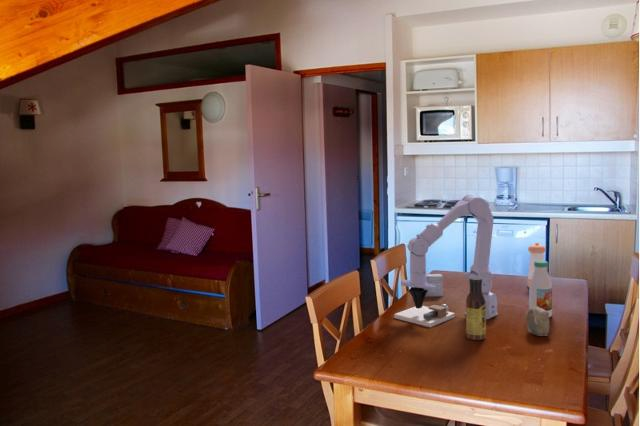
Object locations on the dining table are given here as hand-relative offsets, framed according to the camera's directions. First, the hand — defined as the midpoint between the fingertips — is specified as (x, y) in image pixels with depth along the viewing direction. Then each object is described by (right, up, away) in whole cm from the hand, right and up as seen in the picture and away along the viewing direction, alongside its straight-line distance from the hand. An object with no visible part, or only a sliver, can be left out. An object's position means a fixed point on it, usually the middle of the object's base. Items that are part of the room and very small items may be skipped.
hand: (418, 307), depth 205 cm
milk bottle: (+44, -3, -1) cm, 44 cm away
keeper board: (+2, -4, +2) cm, 5 cm away
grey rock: (+36, -6, -19) cm, 41 cm away
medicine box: (+11, 0, +30) cm, 32 cm away
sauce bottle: (+15, -7, -21) cm, 26 cm away
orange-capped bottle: (+57, +3, +37) cm, 69 cm away
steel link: (+6, -3, -2) cm, 7 cm away
